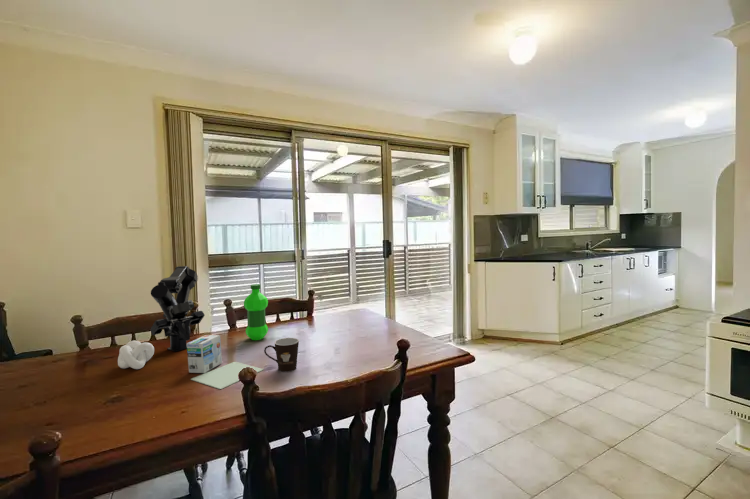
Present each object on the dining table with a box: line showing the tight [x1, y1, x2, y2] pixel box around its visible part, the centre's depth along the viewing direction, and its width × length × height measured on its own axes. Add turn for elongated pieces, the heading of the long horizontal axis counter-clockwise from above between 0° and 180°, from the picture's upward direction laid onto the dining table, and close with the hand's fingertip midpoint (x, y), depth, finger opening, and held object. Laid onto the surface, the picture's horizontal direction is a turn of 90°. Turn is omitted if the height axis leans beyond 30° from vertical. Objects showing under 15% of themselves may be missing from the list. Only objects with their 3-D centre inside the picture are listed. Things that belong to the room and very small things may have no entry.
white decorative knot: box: [117, 339, 155, 370], centre depth 137 cm, size 11×12×9 cm
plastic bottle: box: [243, 283, 269, 341], centre depth 169 cm, size 10×10×25 cm
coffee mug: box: [263, 337, 300, 373], centre depth 134 cm, size 12×9×10 cm
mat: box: [190, 361, 265, 390], centre depth 129 cm, size 16×18×1 cm
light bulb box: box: [186, 334, 223, 374], centre depth 134 cm, size 11×7×11 cm, turn 168°
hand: (188, 339), depth 138 cm, fingers closed
